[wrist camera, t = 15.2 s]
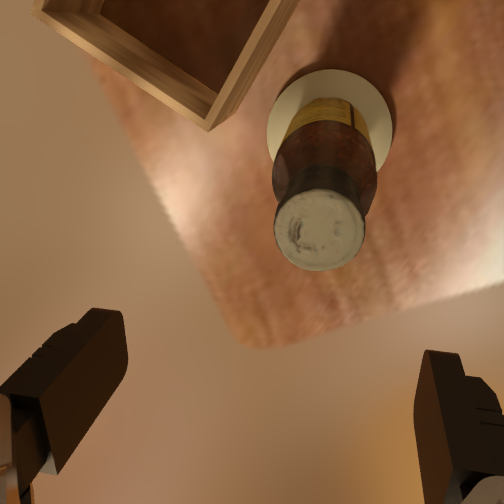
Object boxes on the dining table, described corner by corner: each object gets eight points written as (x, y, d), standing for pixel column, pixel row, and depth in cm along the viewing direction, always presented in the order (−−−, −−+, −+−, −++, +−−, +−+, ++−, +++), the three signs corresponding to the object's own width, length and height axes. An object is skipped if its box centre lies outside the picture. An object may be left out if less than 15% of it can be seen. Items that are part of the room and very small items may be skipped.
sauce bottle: (275, 143, 39) (209, 237, 22) (320, 77, 37) (286, 123, 19) (339, 189, 40) (325, 316, 22) (388, 127, 37) (417, 217, 19)
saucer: (400, 70, 36) (400, 71, 35) (383, 197, 40) (383, 199, 40) (269, 67, 38) (268, 67, 37) (266, 189, 42) (265, 191, 41)
